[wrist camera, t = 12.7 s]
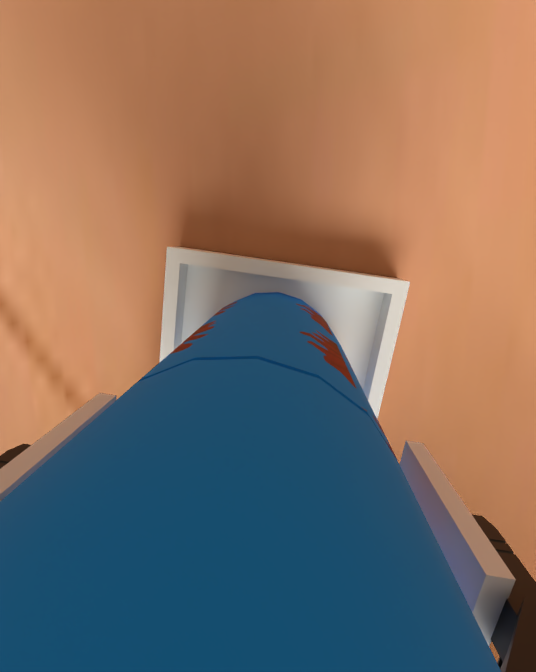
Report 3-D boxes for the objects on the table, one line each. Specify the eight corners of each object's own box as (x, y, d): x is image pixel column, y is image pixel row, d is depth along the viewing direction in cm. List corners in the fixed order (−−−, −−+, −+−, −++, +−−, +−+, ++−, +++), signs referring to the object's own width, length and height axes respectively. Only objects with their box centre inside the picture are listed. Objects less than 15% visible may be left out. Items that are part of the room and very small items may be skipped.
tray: (167, 419, 31) (154, 436, 29) (180, 246, 28) (166, 246, 25) (358, 449, 31) (365, 470, 28) (397, 278, 27) (410, 281, 24)
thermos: (208, 418, 30) (-139, 1133, 6) (196, 292, 27) (-519, 634, 3) (338, 417, 29) (563, 1242, 5) (338, 286, 27) (802, 688, 2)
